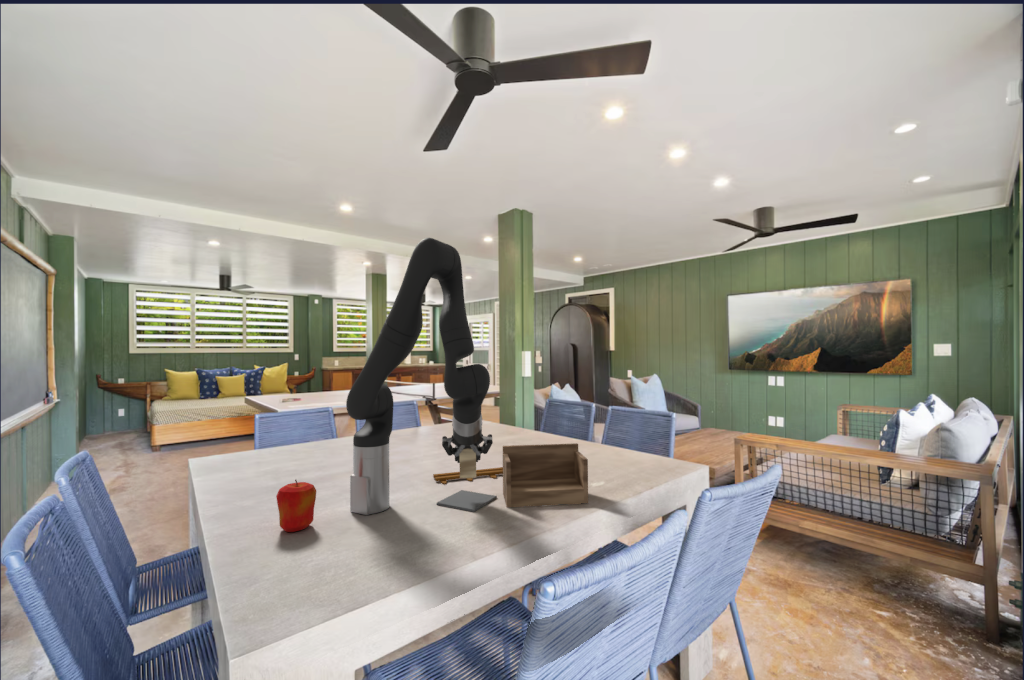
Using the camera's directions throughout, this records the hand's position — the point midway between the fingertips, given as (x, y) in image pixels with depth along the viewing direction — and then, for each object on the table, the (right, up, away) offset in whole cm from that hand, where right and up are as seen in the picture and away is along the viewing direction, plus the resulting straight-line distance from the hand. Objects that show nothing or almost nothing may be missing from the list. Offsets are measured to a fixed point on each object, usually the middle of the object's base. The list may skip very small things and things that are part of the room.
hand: (467, 459), depth 125 cm
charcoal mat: (0, -11, -2) cm, 11 cm away
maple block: (0, -4, -2) cm, 5 cm away
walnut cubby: (+22, -11, 0) cm, 24 cm away
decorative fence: (-1, -12, +22) cm, 25 cm away
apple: (-39, -11, -20) cm, 45 cm away
